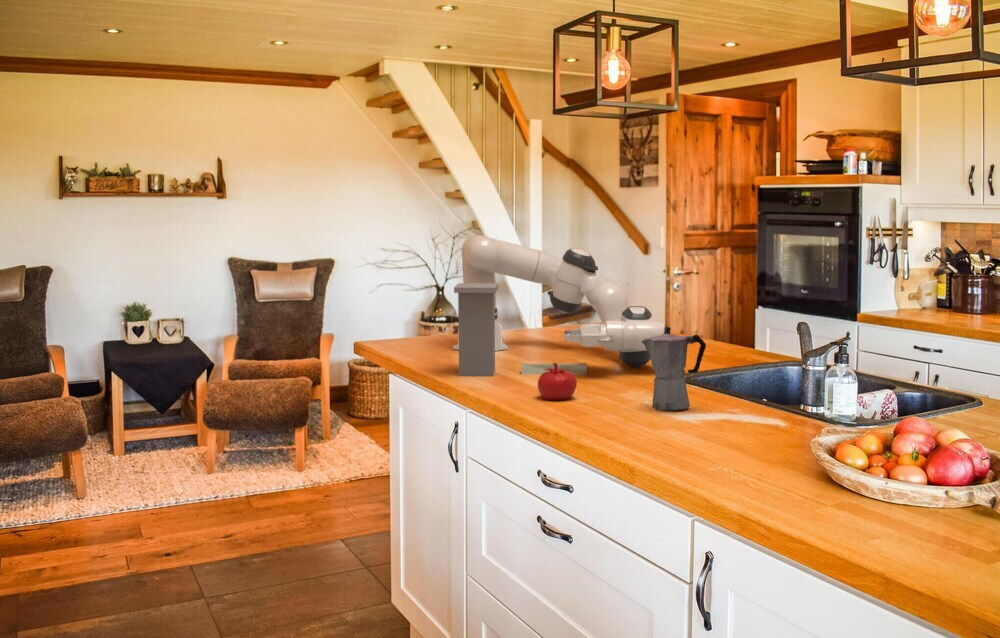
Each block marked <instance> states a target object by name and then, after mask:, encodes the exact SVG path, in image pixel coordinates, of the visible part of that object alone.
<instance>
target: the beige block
mask: <svg viewBox="0 0 1000 638" xmlns="http://www.w3.org/2000/svg"><path fill="white" fill-rule="evenodd" d="M553 363H554V362H553ZM553 363H551V362H550V363H547V362H546V363H542V362H541V363H536V362H535V363H521V375H542V374H543V373H544V372H547V371H549V370H545V369H550V368H553V369H554V365H553ZM557 363H558V362H557ZM561 367H562V368H561ZM587 367H588V366H587V364H586V363H585V362H584V363H582V362H580V363H578V362H576V363H575V362H572V363H571V362H570V363H567V362H566V363H565V362H564V363H563V362H562V363H561V362H560V363H558V364H557V369H559V368H561V369H560V370H563V369H569V370H565V371H567V372H570V373H572V374H573V375H587ZM570 370H571V371H570Z"/></svg>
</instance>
